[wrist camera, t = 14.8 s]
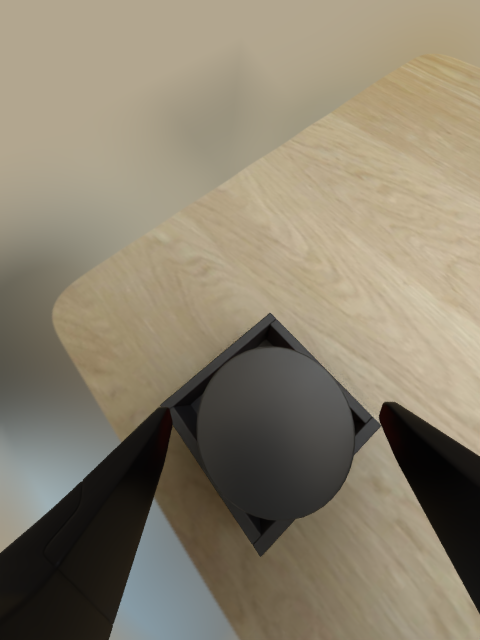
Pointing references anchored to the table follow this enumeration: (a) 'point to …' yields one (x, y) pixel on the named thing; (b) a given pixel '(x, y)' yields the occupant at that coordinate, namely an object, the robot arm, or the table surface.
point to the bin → (190, 396)
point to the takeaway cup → (275, 433)
